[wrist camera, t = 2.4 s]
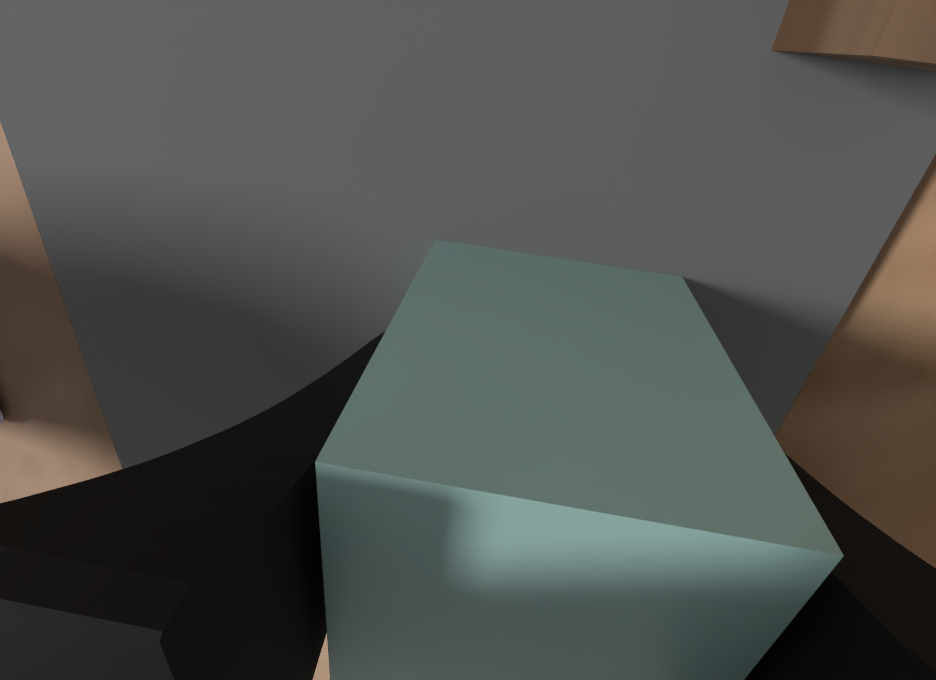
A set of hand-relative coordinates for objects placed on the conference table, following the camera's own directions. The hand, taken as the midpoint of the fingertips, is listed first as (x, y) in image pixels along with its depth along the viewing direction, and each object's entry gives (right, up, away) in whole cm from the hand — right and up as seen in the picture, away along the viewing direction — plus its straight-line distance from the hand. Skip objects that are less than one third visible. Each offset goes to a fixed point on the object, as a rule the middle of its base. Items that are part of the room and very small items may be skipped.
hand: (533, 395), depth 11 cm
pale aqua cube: (0, +1, +1) cm, 1 cm away
